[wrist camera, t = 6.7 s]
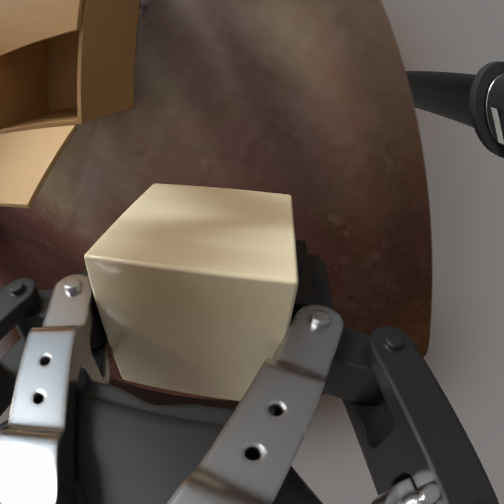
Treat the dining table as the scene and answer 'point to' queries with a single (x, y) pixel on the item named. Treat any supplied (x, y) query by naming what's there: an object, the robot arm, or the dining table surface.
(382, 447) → the robot arm
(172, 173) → the dining table surface
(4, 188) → the flap
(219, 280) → the block
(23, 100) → the carton
